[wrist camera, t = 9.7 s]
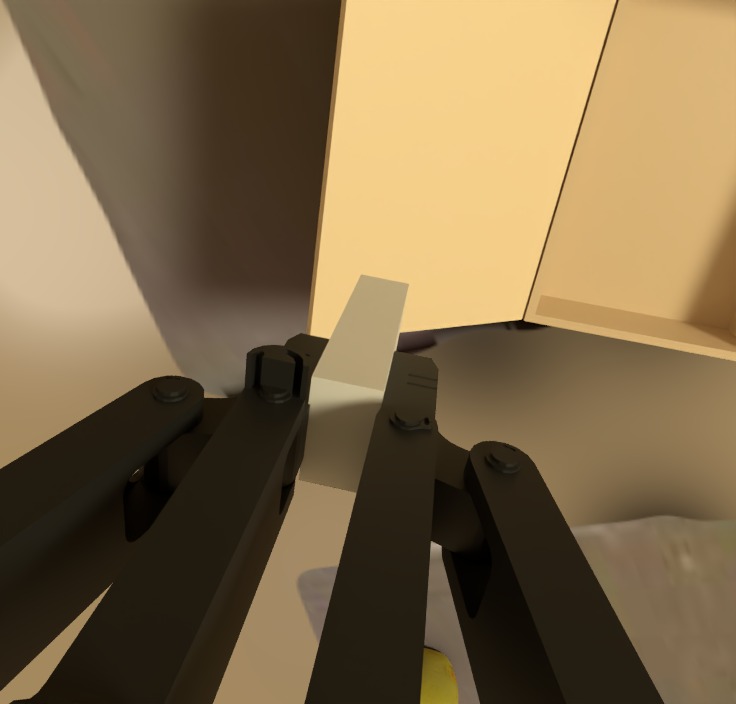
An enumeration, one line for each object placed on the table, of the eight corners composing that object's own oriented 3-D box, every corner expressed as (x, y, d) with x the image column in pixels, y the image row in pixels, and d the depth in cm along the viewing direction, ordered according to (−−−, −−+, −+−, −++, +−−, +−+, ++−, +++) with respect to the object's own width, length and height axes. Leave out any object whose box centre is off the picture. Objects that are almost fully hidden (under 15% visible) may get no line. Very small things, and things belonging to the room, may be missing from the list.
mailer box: (616, -52, 34) (640, -71, 29) (897, -11, 33) (966, -24, 28) (516, 296, 44) (523, 322, 39) (728, 336, 43) (759, 367, 38)
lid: (637, -70, 29) (627, -69, 30) (365, -175, 22) (358, -171, 22) (521, 319, 39) (516, 315, 40) (309, 342, 32) (305, 337, 32)
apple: (480, 683, 63) (453, 781, 55) (418, 673, 67) (385, 762, 59) (454, 635, 60) (422, 731, 52) (391, 627, 64) (353, 715, 57)
